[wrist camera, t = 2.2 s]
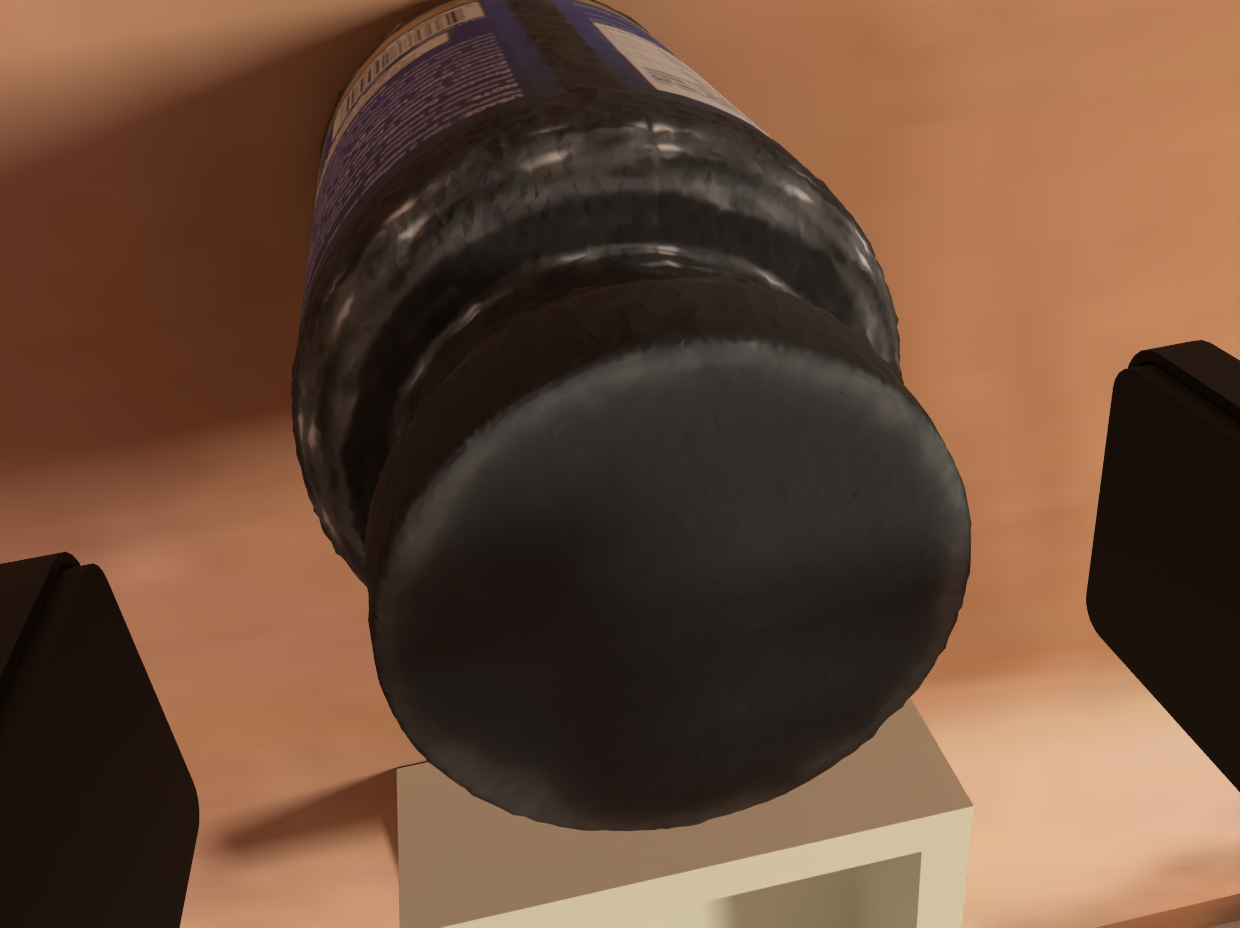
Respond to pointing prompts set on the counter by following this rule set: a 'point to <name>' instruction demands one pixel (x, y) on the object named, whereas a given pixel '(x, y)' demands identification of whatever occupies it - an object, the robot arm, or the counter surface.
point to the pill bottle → (611, 426)
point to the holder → (705, 854)
